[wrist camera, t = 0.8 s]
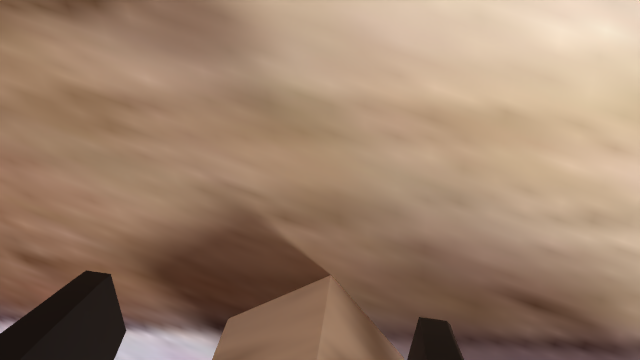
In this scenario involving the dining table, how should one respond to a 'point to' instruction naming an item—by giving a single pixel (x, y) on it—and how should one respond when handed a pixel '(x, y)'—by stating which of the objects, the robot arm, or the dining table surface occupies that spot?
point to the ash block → (305, 329)
